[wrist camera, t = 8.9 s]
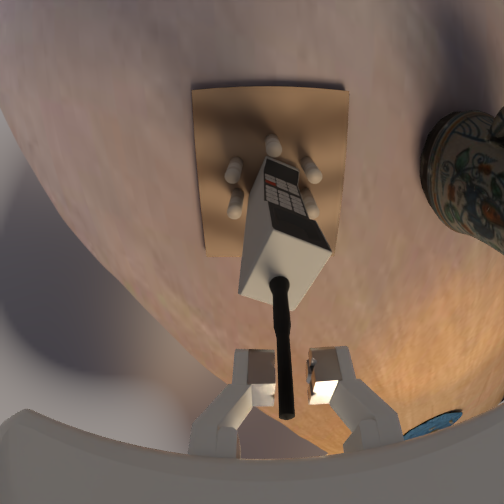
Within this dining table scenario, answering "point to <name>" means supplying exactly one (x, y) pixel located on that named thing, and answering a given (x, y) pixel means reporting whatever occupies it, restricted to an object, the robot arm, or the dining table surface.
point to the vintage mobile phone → (280, 258)
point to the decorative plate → (433, 425)
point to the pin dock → (267, 154)
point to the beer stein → (467, 174)
